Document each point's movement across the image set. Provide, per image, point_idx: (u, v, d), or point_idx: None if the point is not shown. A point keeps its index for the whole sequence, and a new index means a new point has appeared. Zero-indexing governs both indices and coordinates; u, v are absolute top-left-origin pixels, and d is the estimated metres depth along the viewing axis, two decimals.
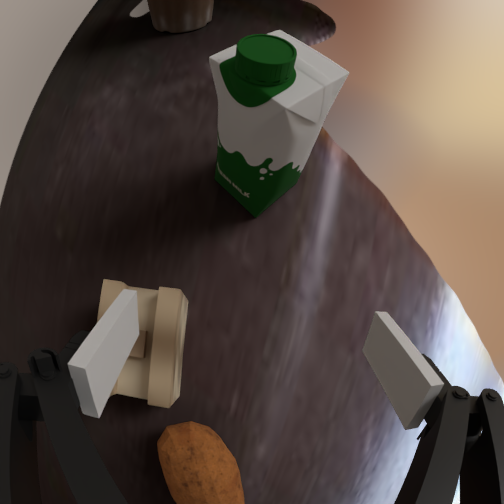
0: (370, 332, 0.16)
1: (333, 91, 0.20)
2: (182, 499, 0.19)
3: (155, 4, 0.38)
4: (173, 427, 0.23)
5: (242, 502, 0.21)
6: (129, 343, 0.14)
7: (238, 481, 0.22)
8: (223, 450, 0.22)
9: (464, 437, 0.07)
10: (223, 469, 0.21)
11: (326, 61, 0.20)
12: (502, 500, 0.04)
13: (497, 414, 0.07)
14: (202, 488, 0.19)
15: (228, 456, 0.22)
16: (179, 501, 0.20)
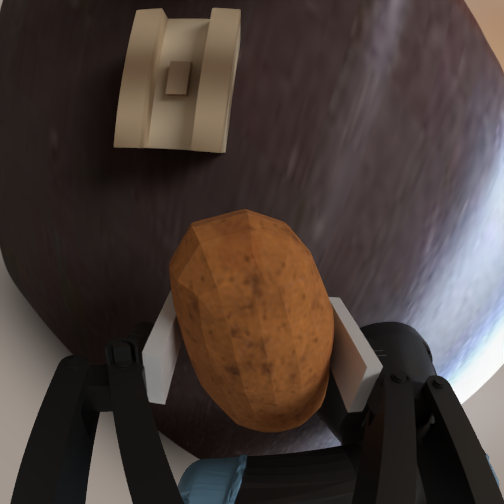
0: None
1: None
2: (221, 394, 0.12)
3: None
4: (208, 223, 0.11)
5: (327, 384, 0.15)
6: (181, 334, 0.15)
7: None
8: (318, 279, 0.12)
9: (413, 422, 0.08)
10: (320, 328, 0.11)
11: None
12: (473, 492, 0.05)
13: (448, 402, 0.09)
14: (272, 378, 0.10)
15: (325, 293, 0.12)
16: (214, 395, 0.13)
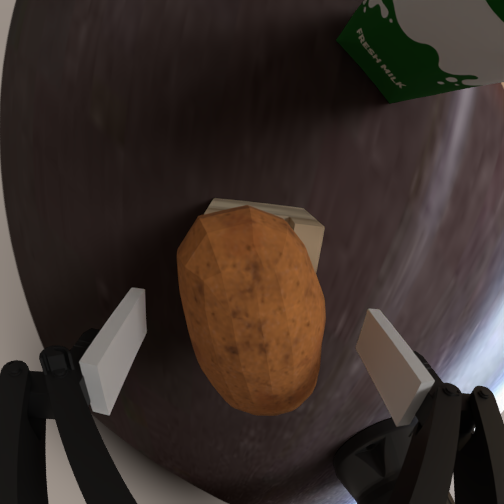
0: (363, 329, 0.16)
1: None
2: (220, 375, 0.13)
3: None
4: (214, 216, 0.13)
5: (318, 372, 0.16)
6: (137, 341, 0.14)
7: None
8: (311, 270, 0.13)
9: (456, 434, 0.07)
10: (312, 314, 0.13)
11: None
12: (498, 498, 0.04)
13: (490, 411, 0.08)
14: (268, 358, 0.12)
15: (317, 283, 0.14)
16: (213, 376, 0.14)
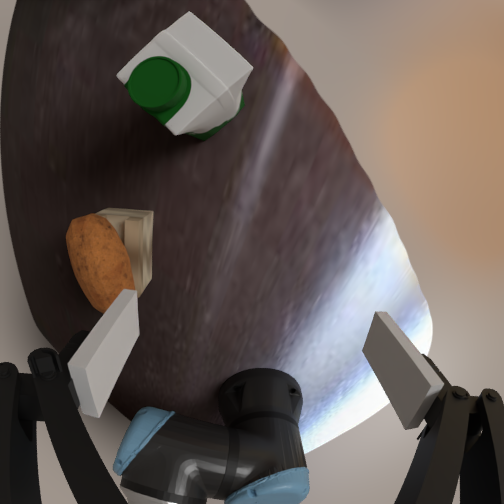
0: (370, 332, 0.16)
1: (234, 88, 0.21)
2: (80, 283, 0.30)
3: None
4: (76, 218, 0.29)
5: None
6: (129, 343, 0.14)
7: (124, 270, 0.31)
8: (110, 239, 0.30)
9: (464, 437, 0.07)
10: (106, 256, 0.29)
11: (230, 55, 0.19)
12: (502, 500, 0.04)
13: (497, 413, 0.07)
14: (88, 272, 0.28)
15: (115, 245, 0.30)
16: (80, 286, 0.31)
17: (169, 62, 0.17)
